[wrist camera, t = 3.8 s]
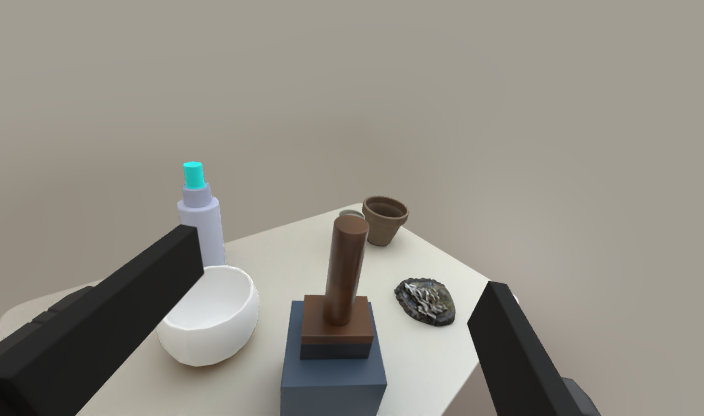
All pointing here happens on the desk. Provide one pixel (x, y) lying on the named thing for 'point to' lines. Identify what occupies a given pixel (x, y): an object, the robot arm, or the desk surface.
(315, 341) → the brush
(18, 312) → the desk surface
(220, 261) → the spray bottle
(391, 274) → the desk surface
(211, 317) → the cup
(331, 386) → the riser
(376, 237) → the flower pot
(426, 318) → the grey rough lump
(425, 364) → the desk surface
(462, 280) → the desk surface
